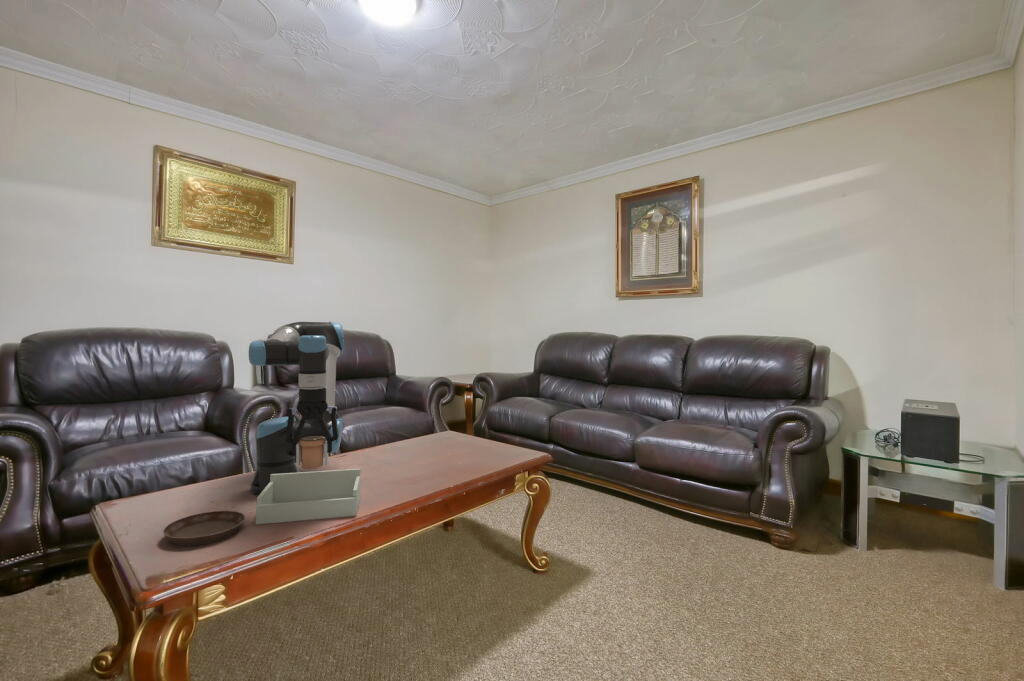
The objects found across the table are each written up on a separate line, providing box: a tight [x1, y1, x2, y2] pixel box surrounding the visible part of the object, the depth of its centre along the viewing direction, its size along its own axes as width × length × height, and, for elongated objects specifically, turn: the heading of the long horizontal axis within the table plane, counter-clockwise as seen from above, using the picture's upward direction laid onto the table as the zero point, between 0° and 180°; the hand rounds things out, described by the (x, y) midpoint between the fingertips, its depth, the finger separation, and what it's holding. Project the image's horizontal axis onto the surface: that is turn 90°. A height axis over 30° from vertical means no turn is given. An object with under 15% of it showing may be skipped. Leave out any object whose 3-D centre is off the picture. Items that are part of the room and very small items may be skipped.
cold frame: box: [255, 468, 361, 525], centre depth 135 cm, size 16×26×9 cm, turn 105°
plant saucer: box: [162, 510, 246, 546], centre depth 119 cm, size 18×18×3 cm
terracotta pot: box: [300, 436, 325, 470], centre depth 136 cm, size 7×7×8 cm
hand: (312, 464), depth 136 cm, fingers closed on terracotta pot, 7 cm apart
